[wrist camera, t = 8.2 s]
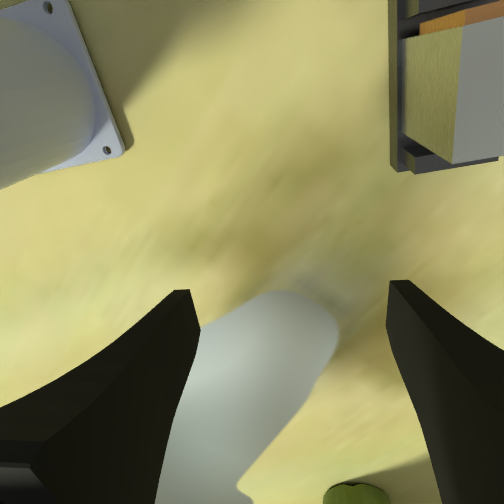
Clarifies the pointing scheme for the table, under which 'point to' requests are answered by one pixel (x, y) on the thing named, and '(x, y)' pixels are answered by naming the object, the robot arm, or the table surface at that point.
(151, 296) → the table surface
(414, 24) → the rail
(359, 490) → the plant pot
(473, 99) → the grey and orange block
